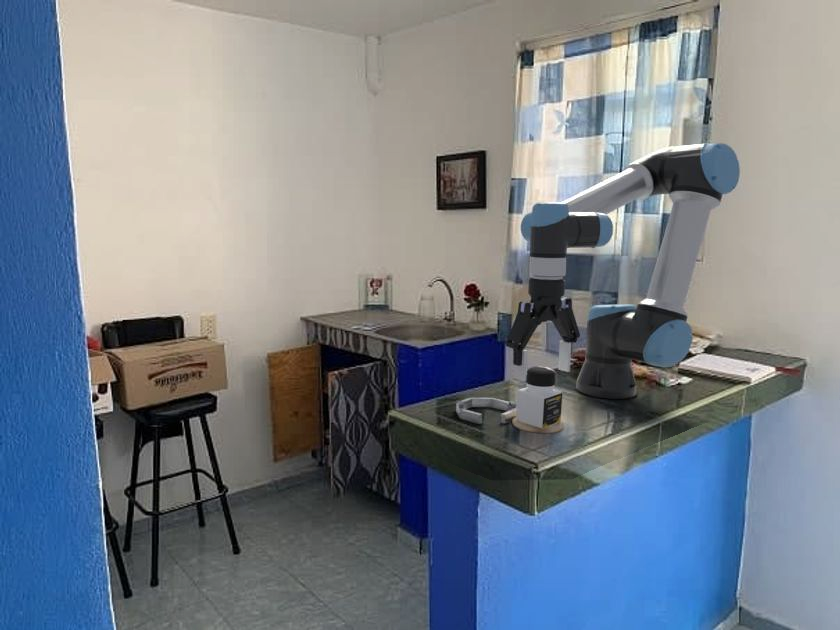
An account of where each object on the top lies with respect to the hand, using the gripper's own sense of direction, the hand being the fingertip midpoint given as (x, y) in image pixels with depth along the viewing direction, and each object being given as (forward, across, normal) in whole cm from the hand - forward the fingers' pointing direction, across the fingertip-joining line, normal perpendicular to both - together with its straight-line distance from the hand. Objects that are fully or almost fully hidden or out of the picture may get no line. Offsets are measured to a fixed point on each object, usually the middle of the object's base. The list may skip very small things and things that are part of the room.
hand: (542, 375), depth 134 cm
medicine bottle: (+11, +1, 0) cm, 11 cm away
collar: (+11, +6, -11) cm, 17 cm away
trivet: (+11, +1, 0) cm, 11 cm away
